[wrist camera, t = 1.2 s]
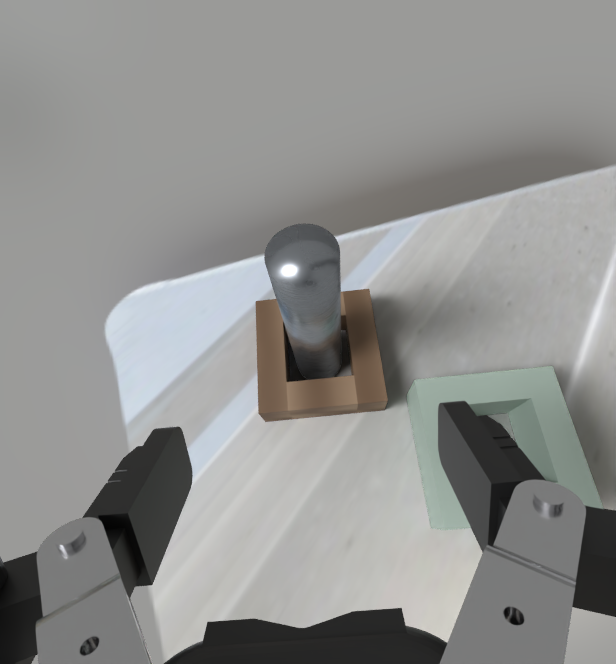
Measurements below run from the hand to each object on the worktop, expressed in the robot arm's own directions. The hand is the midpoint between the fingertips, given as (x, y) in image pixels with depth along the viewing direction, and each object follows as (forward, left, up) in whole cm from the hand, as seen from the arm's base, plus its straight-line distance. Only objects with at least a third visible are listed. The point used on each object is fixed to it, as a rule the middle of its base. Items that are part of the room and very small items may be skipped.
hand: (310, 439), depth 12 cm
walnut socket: (0, -10, -21) cm, 23 cm away
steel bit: (0, -10, -21) cm, 23 cm away
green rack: (-12, -1, -21) cm, 24 cm away
